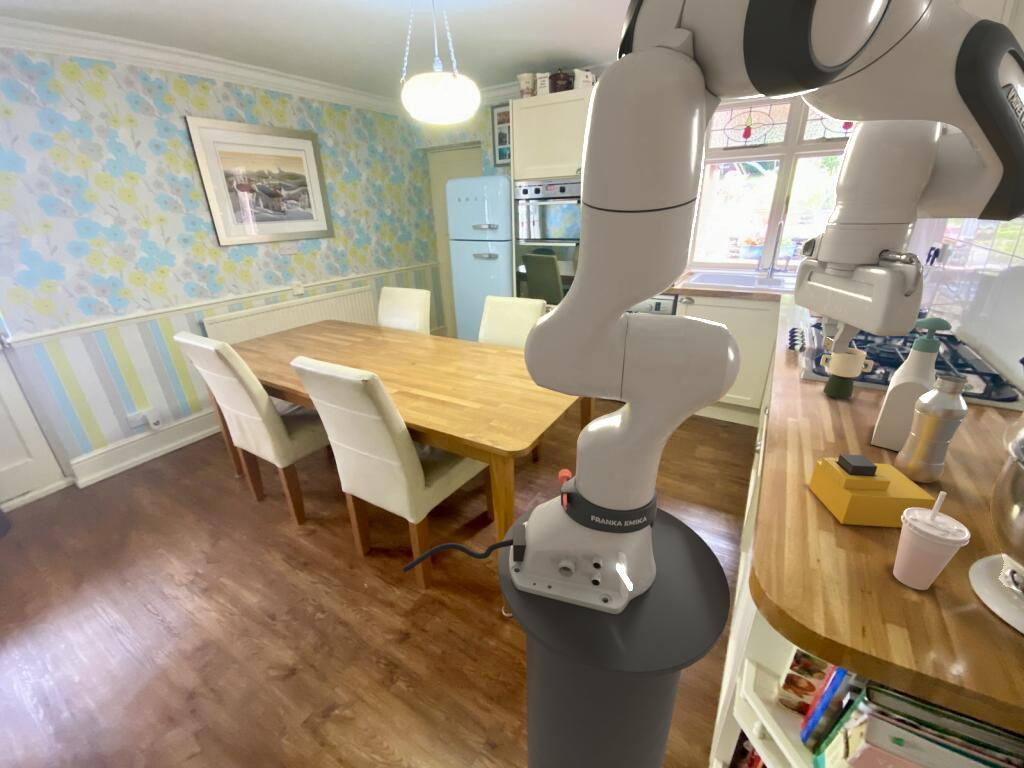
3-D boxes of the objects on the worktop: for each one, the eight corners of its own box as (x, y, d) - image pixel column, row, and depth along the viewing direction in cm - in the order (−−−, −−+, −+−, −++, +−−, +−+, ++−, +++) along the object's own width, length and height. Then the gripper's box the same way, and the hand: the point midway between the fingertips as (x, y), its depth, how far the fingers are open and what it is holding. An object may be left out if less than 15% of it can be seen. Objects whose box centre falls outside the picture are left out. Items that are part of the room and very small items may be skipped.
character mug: (860, 395, 114) (874, 350, 109) (862, 405, 108) (878, 357, 103) (812, 388, 119) (824, 344, 114) (812, 396, 114) (824, 351, 109)
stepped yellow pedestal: (839, 524, 68) (853, 485, 65) (807, 487, 77) (817, 451, 74) (923, 529, 66) (940, 489, 63) (879, 490, 75) (893, 455, 73)
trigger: (849, 476, 68) (853, 465, 67) (836, 464, 71) (839, 453, 70) (873, 477, 67) (877, 466, 67) (859, 465, 71) (862, 454, 70)
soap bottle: (865, 424, 98) (903, 309, 88) (911, 435, 93) (958, 314, 83) (860, 442, 91) (901, 319, 81) (910, 455, 86) (961, 325, 76)
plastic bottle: (942, 491, 75) (987, 389, 67) (893, 480, 78) (931, 381, 71) (932, 473, 80) (974, 376, 72) (887, 464, 83) (922, 370, 76)
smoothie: (904, 557, 61) (939, 477, 56) (956, 593, 55) (1000, 507, 50) (868, 565, 60) (901, 484, 54) (917, 603, 54) (959, 515, 49)
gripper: (959, 254, 43) (914, 377, 49) (840, 242, 62) (817, 332, 67) (893, 255, 44) (856, 376, 49) (795, 243, 63) (776, 331, 68)
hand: (833, 350), depth 59 cm, fingers closed
